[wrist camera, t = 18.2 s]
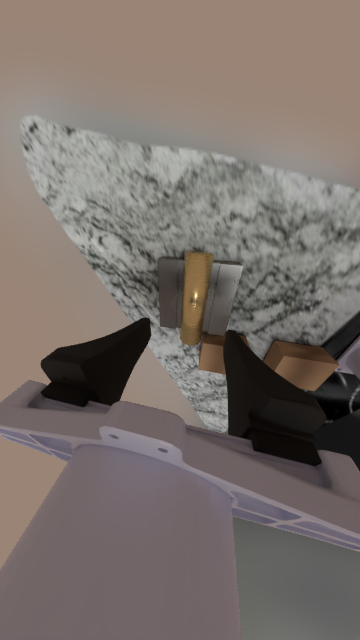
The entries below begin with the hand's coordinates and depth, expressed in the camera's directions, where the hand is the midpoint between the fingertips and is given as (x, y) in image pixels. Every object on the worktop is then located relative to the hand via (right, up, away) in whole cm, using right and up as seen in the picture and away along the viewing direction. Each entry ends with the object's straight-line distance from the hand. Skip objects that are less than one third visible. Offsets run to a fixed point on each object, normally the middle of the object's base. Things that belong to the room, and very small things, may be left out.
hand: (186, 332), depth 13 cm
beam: (+12, -4, +11) cm, 17 cm away
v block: (+2, +5, +8) cm, 9 cm away
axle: (+1, +4, +7) cm, 8 cm away
